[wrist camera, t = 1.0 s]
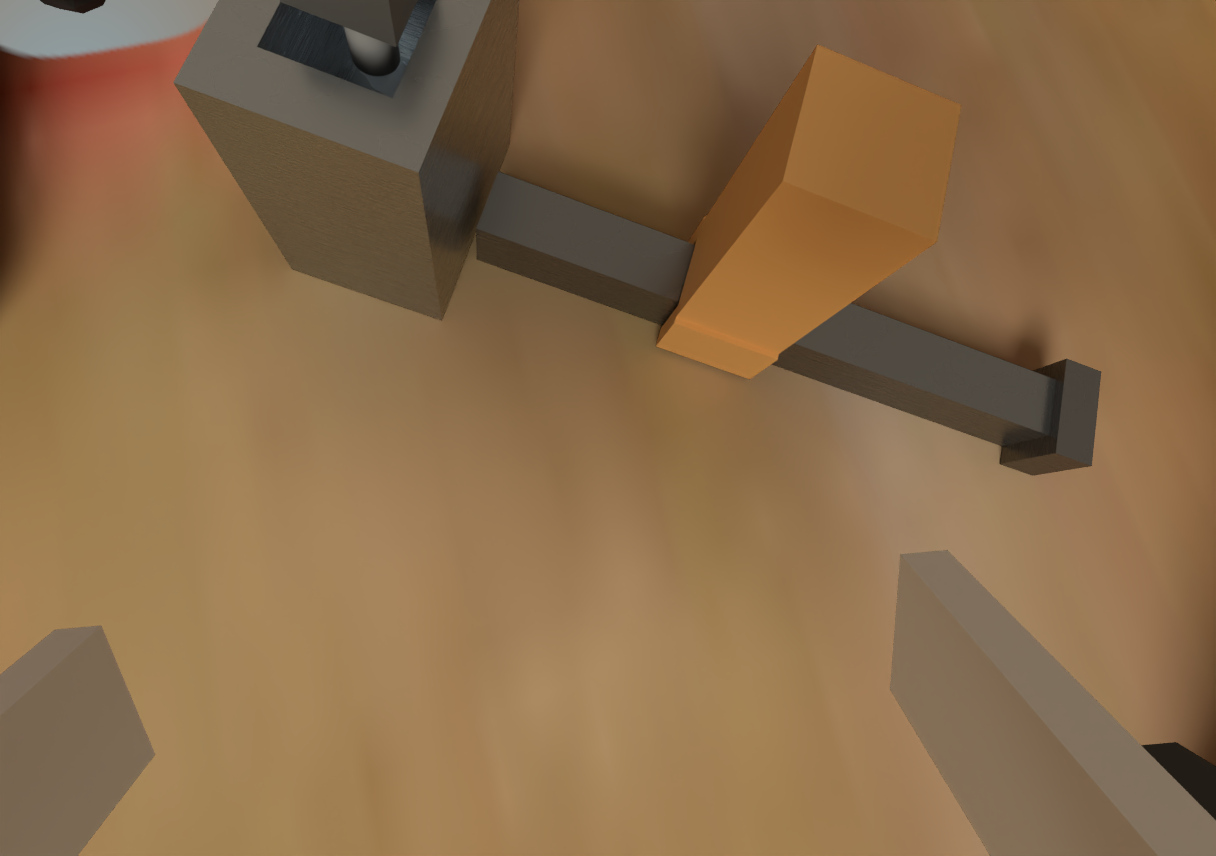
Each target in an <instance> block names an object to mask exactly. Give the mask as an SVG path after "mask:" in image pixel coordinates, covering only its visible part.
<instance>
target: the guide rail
mask: <svg viewBox="0 0 1216 856" xmlns="http://www.w3.org/2000/svg"><path fill="white" fill-rule="evenodd" d="M476 242H477V260H480V261H483V262H486V263H489V264H491V265H494V266H497V267H500V268H503V269H505V270H508V271H511V272H514V273H517V274H519V275H522V276H525V277H528V278H531V279H534V280H536V281H539V282H542V283H545V284H548V285H550V286H553V287H556V288H559V289H562V290H564V291H567V292H570V293H573V294H576V295H579V296H581V297H584V298H587V299H590V300H593V301H595V302H598V303H601V304H604V305H607V306H609V307H612V308H615V309H618V310H621V311H624V312H626V313H629V314H632V315H635V316H638V317H640V318H643V319H646V320H649V321H652V322H654V323H657V324H660V325H664V323H665V322H666V321H667V320H668V318H669V317H670V316H671V314H672V313H673V312H674V310H675V309H676V308H677V306H678V304H679V300H680V297H681V293H682V290H683V286H684V283H685V279H686V276H687V272H688V269H689V265H690V262H691V258H692V255H693V251H694V248H695V245H694V244H691V243H688V242H686V241H683V240H680V239H678V238H675V237H672V236H670V235H667V234H664V233H662V232H659V231H656V230H654V229H651V228H648V227H646V226H643V225H640V224H638V223H635V222H632V221H630V220H627V219H624V218H621V217H619V216H616V215H613V214H611V213H608V212H605V211H603V210H600V209H597V208H595V207H592V206H589V205H587V204H584V203H581V202H579V201H576V200H573V199H571V198H568V197H565V196H563V195H560V194H557V193H555V192H552V191H549V190H546V189H544V188H541V187H538V186H536V185H533V184H530V183H528V182H525V181H522V180H520V179H517V178H514V177H512V176H509V175H506V174H504V173H501V172H498V173H497V176H496V179H495V181H494V184H493V186H492V189H491V192H490V194H489V197H488V199H487V202H486V205H485V207H484V210H483V212H482V215H481V218H480V220H479V223H478V225H477V228H476ZM772 364H773V365H775V366H778V367H781V368H784V369H787V370H789V371H792V372H795V373H798V374H801V375H803V376H806V377H809V378H812V379H815V380H817V381H820V382H823V383H826V384H829V385H832V386H834V387H837V388H840V389H843V390H846V391H848V392H851V393H854V394H857V395H860V396H862V397H865V398H868V399H871V400H874V401H877V402H879V403H882V404H885V405H888V406H891V407H893V408H896V409H899V410H902V411H905V412H907V413H910V414H913V415H916V416H919V417H922V418H924V419H927V420H930V421H933V422H936V423H938V424H941V425H944V426H947V427H950V428H952V429H955V430H958V431H961V432H964V433H966V434H969V435H972V436H975V437H978V438H981V439H983V440H986V441H989V442H992V443H995V444H997V445H1000V446H1002V454H1001V461H1000V464H1002V465H1004V466H1007V467H1010V468H1013V469H1016V470H1019V471H1021V472H1024V473H1027V474H1030V475H1039V474H1045V473H1051V472H1058V471H1064V470H1070V469H1076V468H1082V467H1088V466H1092V457H1093V448H1094V438H1095V428H1096V418H1097V408H1098V398H1099V388H1100V378H1101V371H1098V370H1095V369H1093V368H1090V367H1087V366H1085V365H1082V364H1079V363H1077V362H1074V361H1072V360H1069V359H1064V360H1062V361H1059V362H1056V363H1053V364H1050V365H1047V366H1045V367H1042V368H1039V369H1036V370H1033V371H1031V370H1029V369H1026V368H1023V367H1021V366H1018V365H1015V364H1013V363H1010V362H1007V361H1005V360H1002V359H999V358H996V357H994V356H991V355H988V354H986V353H983V352H980V351H978V350H975V349H972V348H970V347H967V346H964V345H962V344H959V343H956V342H954V341H951V340H948V339H946V338H943V337H940V336H938V335H935V334H932V333H930V332H927V331H924V330H921V329H919V328H916V327H913V326H911V325H908V324H905V323H903V322H900V321H897V320H895V319H892V318H889V317H887V316H884V315H881V314H879V313H876V312H873V311H871V310H868V309H865V308H863V307H860V306H857V305H855V304H852V303H850V304H849V305H847V306H846V307H844V308H843V309H841V310H840V311H839V312H837V313H836V314H834V315H833V316H832V317H830V318H829V319H827V320H826V321H825V322H823V323H822V324H820V325H819V326H818V327H816V328H815V329H813V330H812V331H811V332H809V333H808V334H806V335H805V336H803V337H802V338H801V339H799V340H798V341H796V342H795V343H794V344H792V345H791V346H789V347H788V348H787V349H785V350H784V351H782V352H781V353H780V354H779V356H778V360H777V361H775V362H774V363H772Z"/></svg>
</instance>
